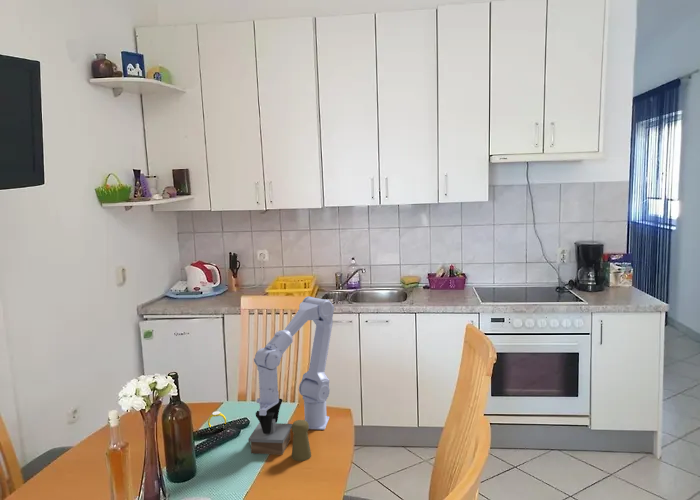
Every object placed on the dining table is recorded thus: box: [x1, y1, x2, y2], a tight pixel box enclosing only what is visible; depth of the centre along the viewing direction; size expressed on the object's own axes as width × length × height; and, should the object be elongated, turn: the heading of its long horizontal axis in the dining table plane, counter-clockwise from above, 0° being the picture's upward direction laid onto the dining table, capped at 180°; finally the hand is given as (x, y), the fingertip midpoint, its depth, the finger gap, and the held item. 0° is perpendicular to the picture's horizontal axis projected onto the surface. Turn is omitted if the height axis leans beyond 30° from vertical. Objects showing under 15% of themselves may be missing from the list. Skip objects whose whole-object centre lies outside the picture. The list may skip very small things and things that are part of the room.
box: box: [250, 431, 292, 456], centre depth 168 cm, size 10×10×4 cm
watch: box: [207, 410, 227, 427], centre depth 181 cm, size 6×3×6 cm, turn 98°
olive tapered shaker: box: [291, 419, 312, 462], centre depth 161 cm, size 6×6×11 cm
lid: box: [248, 419, 293, 443], centre depth 167 cm, size 11×11×4 cm
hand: (270, 427), depth 167 cm, fingers open, 7 cm apart
